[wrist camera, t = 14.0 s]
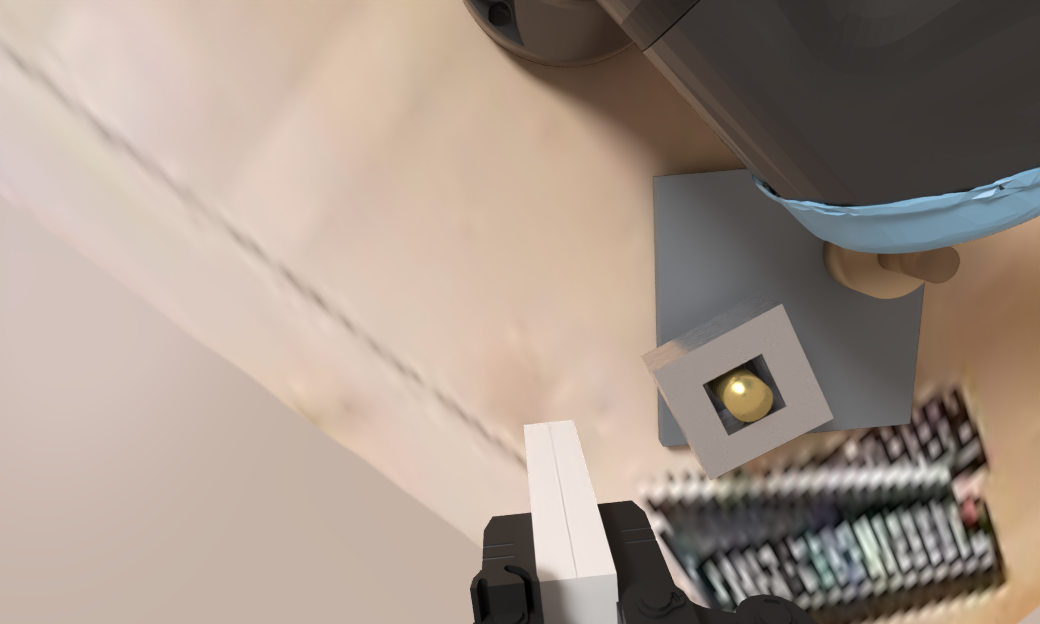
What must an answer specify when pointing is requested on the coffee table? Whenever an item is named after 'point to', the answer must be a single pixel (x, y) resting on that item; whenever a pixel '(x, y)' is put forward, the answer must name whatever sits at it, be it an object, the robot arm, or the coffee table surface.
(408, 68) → the coffee table surface
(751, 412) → the cylinder
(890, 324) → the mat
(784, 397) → the square hole frame
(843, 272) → the stand
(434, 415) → the coffee table surface
